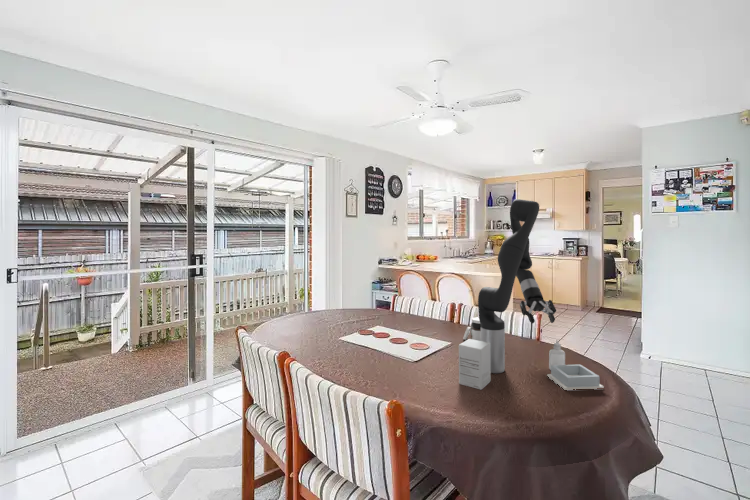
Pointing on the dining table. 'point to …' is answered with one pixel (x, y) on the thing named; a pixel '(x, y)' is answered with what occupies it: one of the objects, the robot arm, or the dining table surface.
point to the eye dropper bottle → (556, 355)
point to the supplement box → (474, 363)
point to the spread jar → (474, 330)
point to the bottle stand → (574, 377)
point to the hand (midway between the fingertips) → (543, 322)
